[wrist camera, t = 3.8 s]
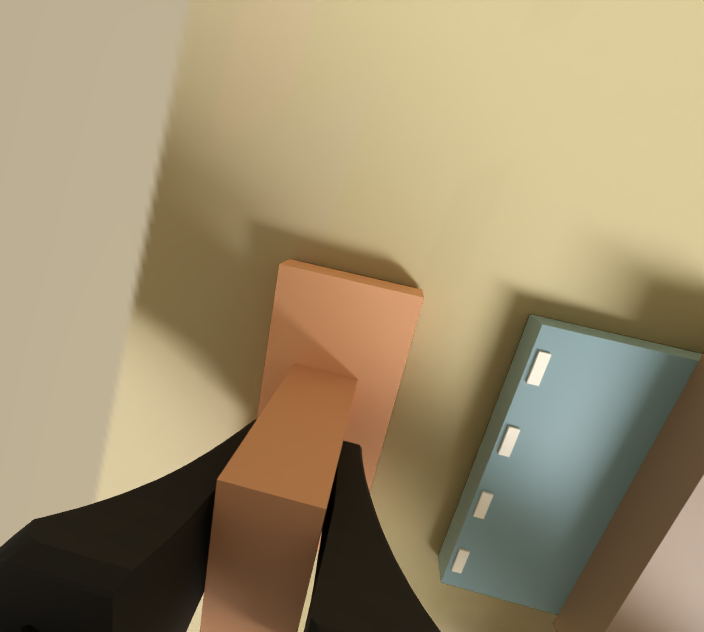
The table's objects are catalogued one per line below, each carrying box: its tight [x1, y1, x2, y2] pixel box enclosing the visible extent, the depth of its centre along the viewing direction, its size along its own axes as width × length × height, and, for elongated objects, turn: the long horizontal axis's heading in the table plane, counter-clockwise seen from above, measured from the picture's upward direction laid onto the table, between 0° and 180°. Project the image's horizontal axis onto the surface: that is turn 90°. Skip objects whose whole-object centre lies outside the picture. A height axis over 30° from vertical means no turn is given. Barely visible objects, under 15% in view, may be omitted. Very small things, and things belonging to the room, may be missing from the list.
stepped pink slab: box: [200, 259, 424, 632], centre depth 12 cm, size 5×12×7 cm, turn 168°
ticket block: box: [438, 314, 704, 632], centre depth 13 cm, size 8×13×3 cm, turn 168°
